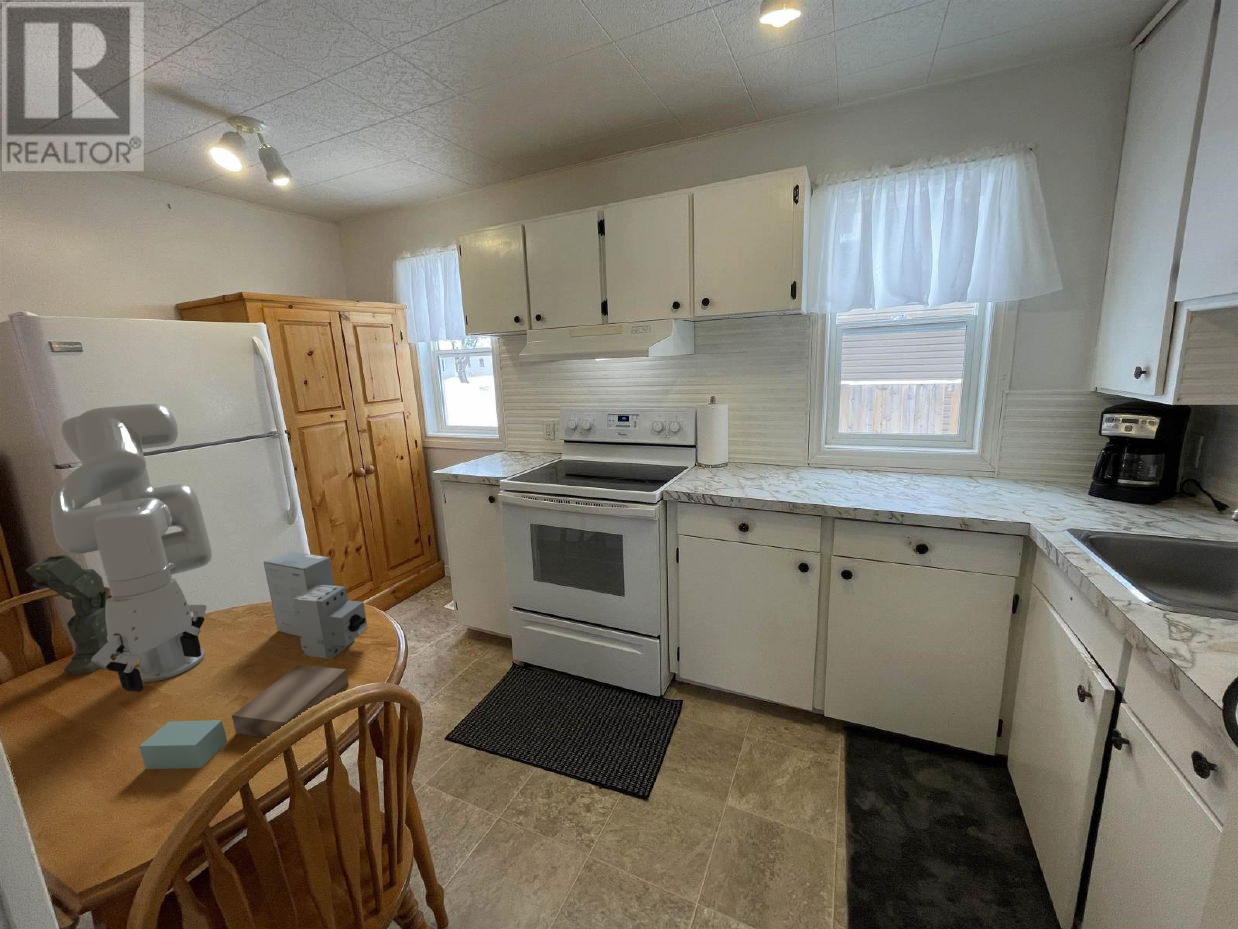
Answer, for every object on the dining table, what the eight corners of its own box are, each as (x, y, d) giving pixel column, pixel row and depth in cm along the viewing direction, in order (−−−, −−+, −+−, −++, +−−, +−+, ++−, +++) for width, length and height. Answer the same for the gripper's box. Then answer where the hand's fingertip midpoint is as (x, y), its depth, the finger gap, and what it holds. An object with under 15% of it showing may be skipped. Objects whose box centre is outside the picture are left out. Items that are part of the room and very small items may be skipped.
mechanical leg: (114, 638, 130) (54, 543, 117) (144, 636, 131) (88, 541, 117) (67, 682, 118) (-6, 582, 105) (100, 680, 119) (32, 580, 105)
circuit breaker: (355, 661, 119) (345, 603, 116) (303, 655, 122) (292, 599, 118) (375, 643, 126) (367, 588, 123) (326, 638, 129) (316, 584, 126)
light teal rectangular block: (146, 770, 89) (139, 746, 88) (175, 744, 95) (169, 721, 94) (201, 768, 89) (195, 745, 88) (227, 743, 95) (221, 720, 94)
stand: (235, 733, 97) (231, 715, 96) (301, 680, 112) (298, 664, 112) (289, 740, 95) (285, 722, 94) (348, 685, 110) (345, 669, 109)
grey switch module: (343, 627, 134) (331, 557, 130) (317, 642, 127) (303, 569, 123) (303, 617, 140) (290, 550, 135) (276, 631, 133) (261, 561, 128)
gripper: (176, 560, 93) (197, 643, 97) (59, 605, 77) (89, 703, 80) (209, 561, 92) (229, 646, 96) (97, 608, 75) (126, 708, 79)
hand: (165, 672), depth 88 cm, fingers open, 9 cm apart
